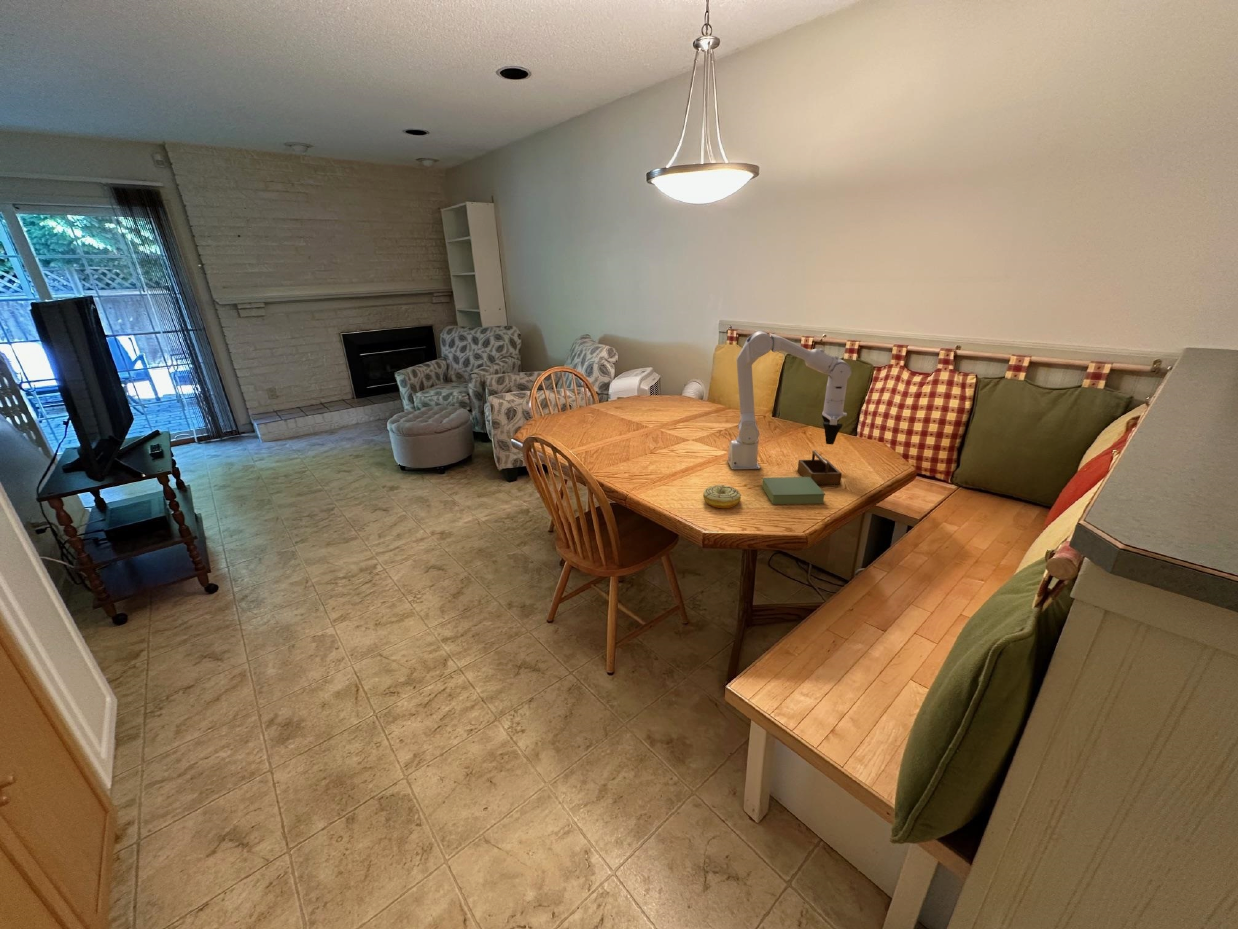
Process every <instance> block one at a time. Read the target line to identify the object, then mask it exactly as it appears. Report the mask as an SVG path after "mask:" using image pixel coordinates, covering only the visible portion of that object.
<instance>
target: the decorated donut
mask: <svg viewBox="0 0 1238 929" xmlns="http://www.w3.org/2000/svg"><path fill="white" fill-rule="evenodd" d="M702 494H703V495H702V497H703V500H704V502H705V503H706V504H708V505H709V506H710V507H713V508H717V509H731V508H733V507H735V506H737V505H738V504H739V502H740V501H741V498H742V494H741V492H740V491H739V490H738V489H736V488H735V487H734V486H730V485H727V484H725V485H724V484H716V485H712V486H709V487H707V488H705V489H704V491H703V493H702Z"/></svg>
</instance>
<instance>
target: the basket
mask: <svg viewBox="0 0 1238 929" xmlns="http://www.w3.org/2000/svg"><path fill="white" fill-rule="evenodd" d="M811 452H812V454H811V455H812V456H811V459H798V463H797V473H799V475H800V477H811V479H812V480H813V481H814V482H815V483H816V484H817V485H818V486H819V487H827V486H828V487H833V486H841V482H842V481H841V480H842V475H843V473H842V472H841V471H840V470H839V469H838V468H837V467H836V466H835V465H834V464H832V463H831V462H830V461H829V460H828V459H825V457H823V455H821V454H820V453H819V451H817V450H816V449H813V450H812V451H811Z"/></svg>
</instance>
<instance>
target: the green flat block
mask: <svg viewBox="0 0 1238 929" xmlns="http://www.w3.org/2000/svg"><path fill="white" fill-rule="evenodd" d="M761 479H762V484H761V487H762V490H763V491H764V492H765V494H766V496H767V497H768V499H769V500H770V502H771V503H772V505H804V504H805V505H807V504H808V505H809V504H810V505H811V504H813V505H814V504H824V499H825V496H826V493H825V492H824V491H823V489H821V487H820V486H818V485H817V484H816V483H815V482H814V481H813V480H812V479H811V477H802V476H781V477H779V476H777V477H776V476H775V477H761Z"/></svg>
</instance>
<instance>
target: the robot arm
mask: <svg viewBox="0 0 1238 929" xmlns="http://www.w3.org/2000/svg"><path fill="white" fill-rule="evenodd" d="M770 351H771V352H772V353H777V352H784V353H786V354H788V355H791V356H793V357H795V358H798V359H801V360H803V361H804V363H805V366H806V367H808V368H810V369H812V370H814V371H815V372H819V373H821V374H823V375H828V377H827V383H826V388H825V395H824V403H823V410H822V413H821V414H822V415H821V418H822V420H823V421H822V426H823V428H824V438H825V444H826V445H831V446H833V445H834V444H835V442H836V440H837V436H838V434H839V432H840V430H841V429H842V428H843V426H844V425H843V423H838V422H839V421H840V420H841V419H842V418H843V417H847V416H848V413H847V412H844V407H845V401H846V394H847V388H848V379H849V378H850V377H851V375H852V373H853V372H852V369H851V368H852V367H851V365H850V364H849V363H847V362H846V361H845V360H843V359H842V358H840V357H839V356H837V355H835V356H834V355H831V354H829V353H826V352H825V349H823V348H819V349H818V348H814V349H807V348H805V347H803V346H801V345H799V344H797V343H795V342H793V341H791V340H789V339H787V338H785V337H783V336H781V335H778V334H774V333H770V332H769V333H768V332H766V331H765V330H756V331H754V332H753V333H752V334H750V336H748V337H747V339H746V340H745V342H744V344H743V347H742V348H741V350H740V351H739V353H738V355H737V357H736V370H737V384H738V385H737V386H738V387H737V388H738V401H739V418H740V419H739V421H738V425H737V429H738V436H737V437H736V439H734V440H730V441H729V442H728V454H727V463H728V464H729V467H730V469H731V470H760V469H761V466H760V465H759V463H758V455H759V445H760V444H759V443H760V439H759V437H760V431H759V429H758V423H757V421H756V415H755V399H754V398H755V397H754V383H753V382H754V380H753V378H754V377H753V365H754V363H755V362H756V361H757V360H758V359H759V358H761V357H763V356H765V355H766V354H768V353H770Z"/></svg>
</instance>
